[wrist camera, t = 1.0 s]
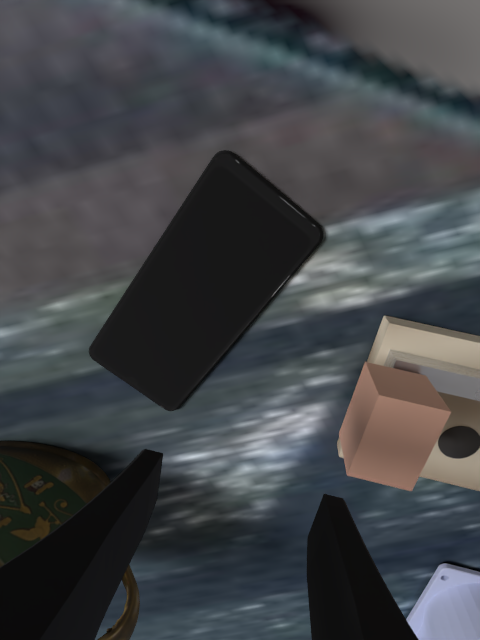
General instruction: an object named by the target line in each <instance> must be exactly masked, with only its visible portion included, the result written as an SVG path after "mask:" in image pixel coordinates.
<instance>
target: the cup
mask: <svg viewBox="0 0 480 640" xmlns="http://www.w3.org/2000/svg"><path fill="white" fill-rule="evenodd" d="M110 483H111V481H110V479H109V478H108V476H107V475H106V474H105V473H104V471H103V470H102V469H101V468H100V467H99V466H97V465H96V464H95V463H94V462H92V461H90V460H89V459H87V458H85V457H83V456H81V455H79V454H76V453H74V452H71V451H68V450H65V449H62V448H58V447H54V446H49V445H44V444H39V443H32V442H23V441H0V567H1V566H2V565H4V564H6V563H7V562H9V561H10V560H12V559H13V558H15V557H16V556H18V555H19V554H21V553H22V552H24V551H25V550H27V549H28V548H30V547H31V546H33V545H34V544H35V543H37V542H38V541H40V540H41V539H42V538H44V537H45V536H47V535H48V534H49V533H51V532H52V531H53V530H55V529H56V528H57V527H59V526H60V525H61V524H63V523H64V522H65V521H66V520H68V519H69V518H70V517H71V516H73V515H74V514H75V513H76V512H77V511H79V510H80V509H81V508H82V507H84V506H85V505H86V504H87V503H88V502H90V501H91V500H92V499H93V498H94V497H95V496H96V495H98V494H99V493H100V492H101V491H102V490H103V489H104V488H105V487H106V486H107V485H109V484H110ZM122 582H123V584H124V586H125V589H126V591H127V601H126V604H125V609H124V612H123V614H122V616H121V617H120V619H118V620H117V622H116V624H115V625H114V626H113V627H112V628H109V629H107V633H106V634H104V635H103V636H102V637H100V638H99V639H98V640H129V639H130V637H131V635H132V633H133V631H134V628H135V626H136V623H137V619H138V614H139V604H140V600H139V591H138V587H137V583H136V580H135V578H134V575H133V573H132V570H131V568H130V566H129V565H128V568H127V570H126V572H125V574H124V576H123V578H122Z"/></svg>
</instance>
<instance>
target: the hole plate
mask: <svg viewBox="0 0 480 640" xmlns="http://www.w3.org/2000/svg"><path fill="white" fill-rule="evenodd" d="M390 349H391V350H395V351H400V352H404V353H409V354H413V355H418V356H422V357H427V358H431V359H435V360H440V361H444V362H449V363H453V364H458V365H462V366H467V367H471V368H475V369H480V336H476V335H472V334H467V333H463V332H458V331H454V330H449V329H444V328H440V327H435V326H431V325H426V324H422V323H417V322H413V321H408V320H403V319H399V318H394V317H390V316H385V315H384V317H383V319H382V322H381V325H380V327H379V330H378V333H377V336H376V338H375V341H374V344H373V347H372V349H371V352H370V355H369V357H368V360H367V362H369V363H373V364H377V365H382V366H384V363H385V361H386V358H387V356H388V353H389V351H390ZM437 392H438V391H437ZM438 394H439V395H440V396H441V398H442V399H443V401H444V402H445V403H446V405H447V406H448V408H449V409H450V411H451V414H450V416H449V418H448V420H447V422H446V424H445V426H444V428H443V430H442V432H441V434H440V436H439V438H438V440H437V442H436V444H435V446H434V448H433V450H432V452H431V454H430V456H429V458H428V460H427V462H426V464H425V466H424V468H423V470H422V472H421V474H420V477H424V478H428V479H432V480H436V481H440V482H444V483H448V484H453V485H457V486H461V487H465V488H469V489H473V490H477V491H480V401H477V400H472V399H468V398H464V397H459V396H455V395H451V394H446V393H442V392H438ZM337 447H338V453H339V457H342V458H344V457H343V452H342V446H341V441H340V436H339V439H338V442H337Z"/></svg>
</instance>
